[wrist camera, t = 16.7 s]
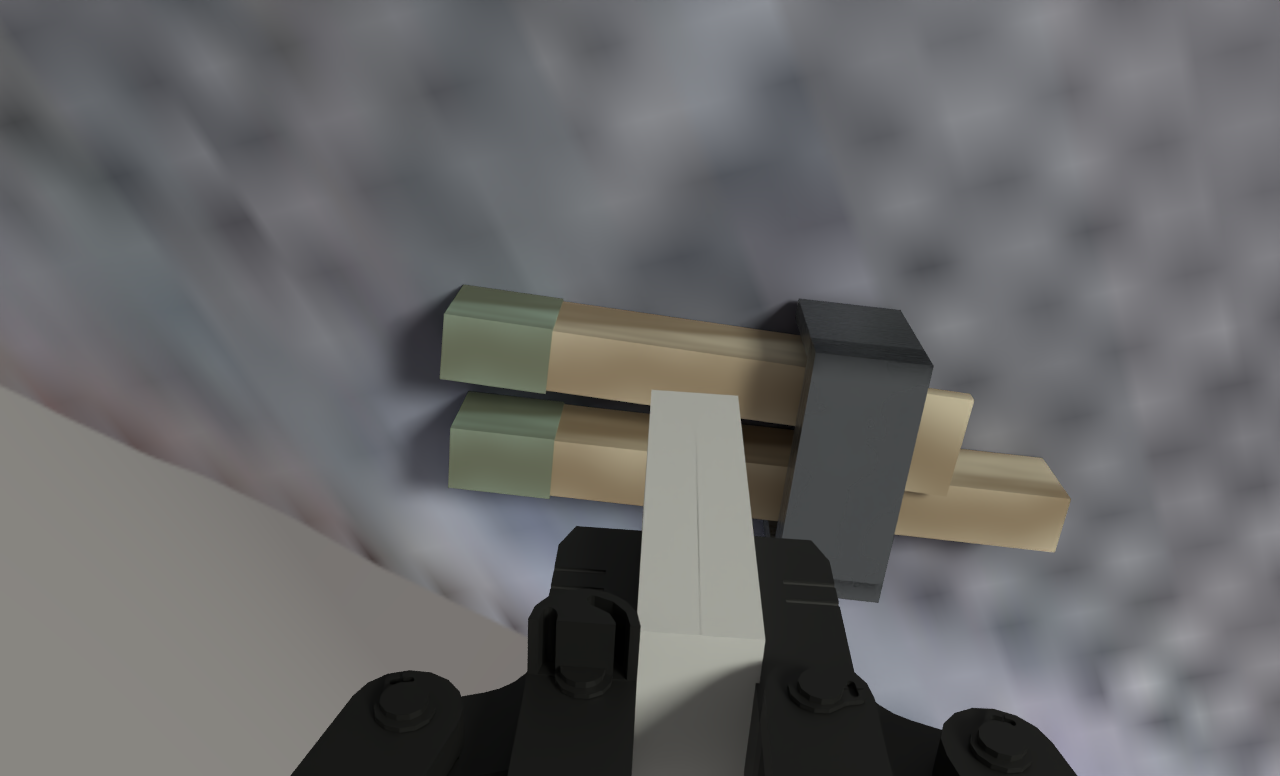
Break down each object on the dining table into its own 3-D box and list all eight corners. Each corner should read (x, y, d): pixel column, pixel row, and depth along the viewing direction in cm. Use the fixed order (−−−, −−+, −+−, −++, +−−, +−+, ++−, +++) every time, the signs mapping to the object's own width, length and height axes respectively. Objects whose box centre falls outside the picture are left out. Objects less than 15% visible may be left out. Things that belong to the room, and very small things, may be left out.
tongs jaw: (463, 284, 41) (439, 321, 37) (946, 354, 42) (975, 397, 38) (456, 378, 43) (432, 423, 39) (922, 445, 43) (946, 496, 39)
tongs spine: (470, 343, 42) (452, 377, 39) (1056, 410, 42) (1087, 449, 39) (466, 447, 44) (448, 487, 41) (1027, 510, 44) (1054, 556, 41)
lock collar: (798, 298, 41) (816, 352, 35) (900, 310, 41) (933, 366, 35) (761, 512, 44) (772, 590, 39) (854, 522, 44) (878, 602, 39)
